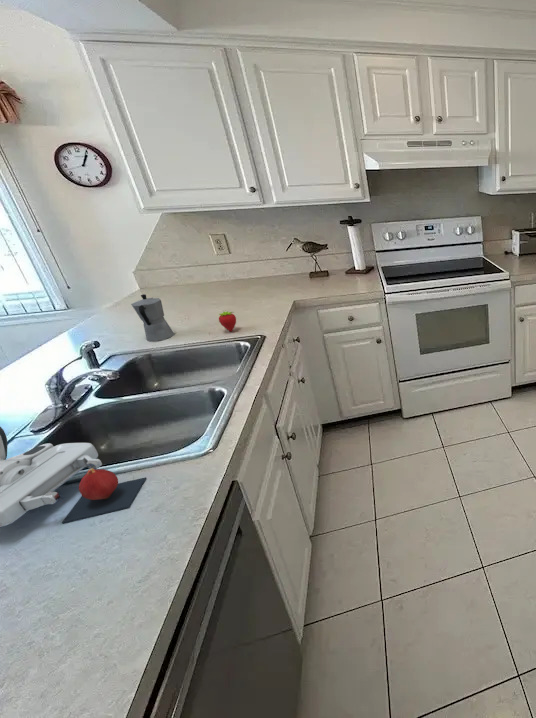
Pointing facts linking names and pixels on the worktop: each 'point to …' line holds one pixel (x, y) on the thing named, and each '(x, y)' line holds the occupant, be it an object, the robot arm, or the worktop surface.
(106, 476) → the red oval piece
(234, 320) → the strawberry
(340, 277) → the worktop surface
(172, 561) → the worktop surface
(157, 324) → the coffeepot
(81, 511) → the pad
